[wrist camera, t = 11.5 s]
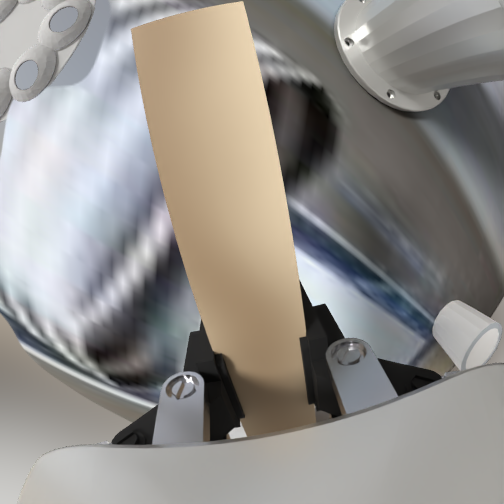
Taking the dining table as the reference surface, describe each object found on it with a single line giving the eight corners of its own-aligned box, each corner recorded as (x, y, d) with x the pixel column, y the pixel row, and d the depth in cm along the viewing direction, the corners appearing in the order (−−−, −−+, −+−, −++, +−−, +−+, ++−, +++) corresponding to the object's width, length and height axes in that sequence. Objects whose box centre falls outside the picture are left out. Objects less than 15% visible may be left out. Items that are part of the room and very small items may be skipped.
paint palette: (-3, -18, 10) (-10, -23, 9) (128, -51, 14) (123, -61, 12) (-54, 126, 16) (-65, 127, 14) (58, 125, 19) (46, 124, 17)
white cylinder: (442, 293, 28) (481, 322, 21) (474, 296, 29) (510, 322, 22) (419, 344, 30) (451, 379, 23) (453, 343, 31) (483, 373, 24)
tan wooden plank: (296, 47, 9) (334, -4, 5) (339, 410, 16) (360, 467, 11) (114, 89, 9) (52, 64, 5) (228, 433, 16) (230, 493, 12)
